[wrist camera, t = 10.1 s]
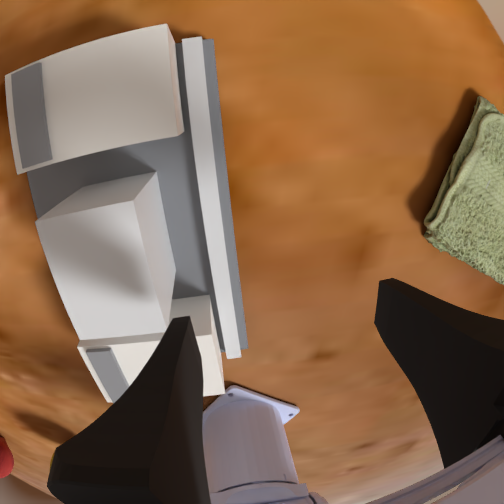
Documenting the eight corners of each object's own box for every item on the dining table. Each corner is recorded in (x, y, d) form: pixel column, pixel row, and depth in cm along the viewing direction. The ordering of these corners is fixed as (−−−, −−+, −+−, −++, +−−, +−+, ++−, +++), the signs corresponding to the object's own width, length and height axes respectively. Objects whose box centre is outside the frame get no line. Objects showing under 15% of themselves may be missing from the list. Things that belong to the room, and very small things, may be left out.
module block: (176, 269, 19) (167, 331, 13) (108, 279, 18) (80, 339, 13) (156, 171, 16) (133, 200, 11) (83, 186, 16) (34, 221, 11)
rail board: (246, 337, 23) (257, 392, 18) (97, 353, 22) (81, 405, 17) (212, 43, 15) (216, 15, 10) (24, 90, 14) (-27, 90, 9)
